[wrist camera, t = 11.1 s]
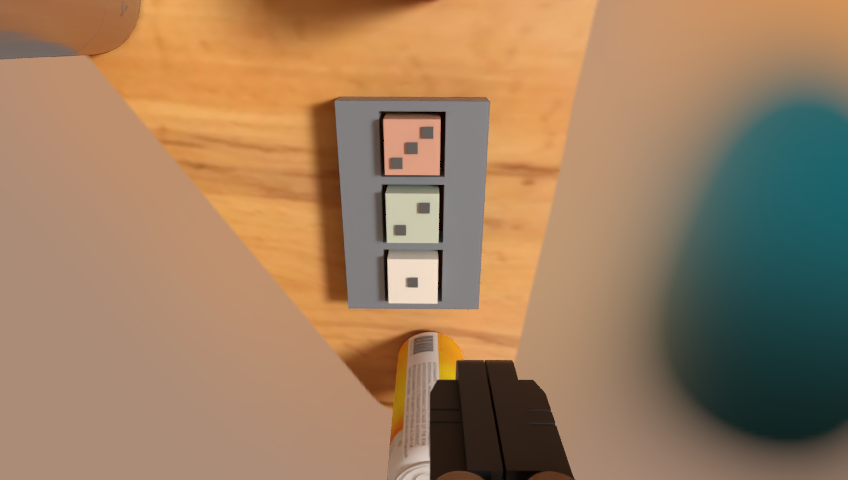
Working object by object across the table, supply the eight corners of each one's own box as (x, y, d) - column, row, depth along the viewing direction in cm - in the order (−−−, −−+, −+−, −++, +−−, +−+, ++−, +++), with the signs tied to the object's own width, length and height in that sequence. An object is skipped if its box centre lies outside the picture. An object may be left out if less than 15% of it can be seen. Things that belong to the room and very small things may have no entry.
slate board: (352, 293, 43) (348, 308, 40) (340, 96, 36) (334, 100, 34) (475, 294, 43) (478, 309, 40) (486, 97, 36) (490, 101, 34)
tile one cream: (391, 286, 42) (388, 304, 39) (389, 244, 40) (387, 260, 37) (436, 287, 42) (437, 305, 39) (437, 245, 40) (438, 260, 37)
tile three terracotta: (387, 165, 37) (384, 175, 35) (386, 113, 36) (383, 119, 33) (438, 165, 37) (439, 176, 35) (439, 113, 36) (440, 119, 33)
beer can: (412, 386, 47) (406, 533, 33) (388, 338, 45) (371, 474, 31) (470, 369, 46) (489, 512, 32) (449, 318, 44) (460, 449, 30)
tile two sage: (389, 229, 39) (386, 243, 37) (388, 182, 38) (385, 194, 35) (437, 229, 39) (438, 244, 37) (438, 183, 38) (439, 194, 35)
